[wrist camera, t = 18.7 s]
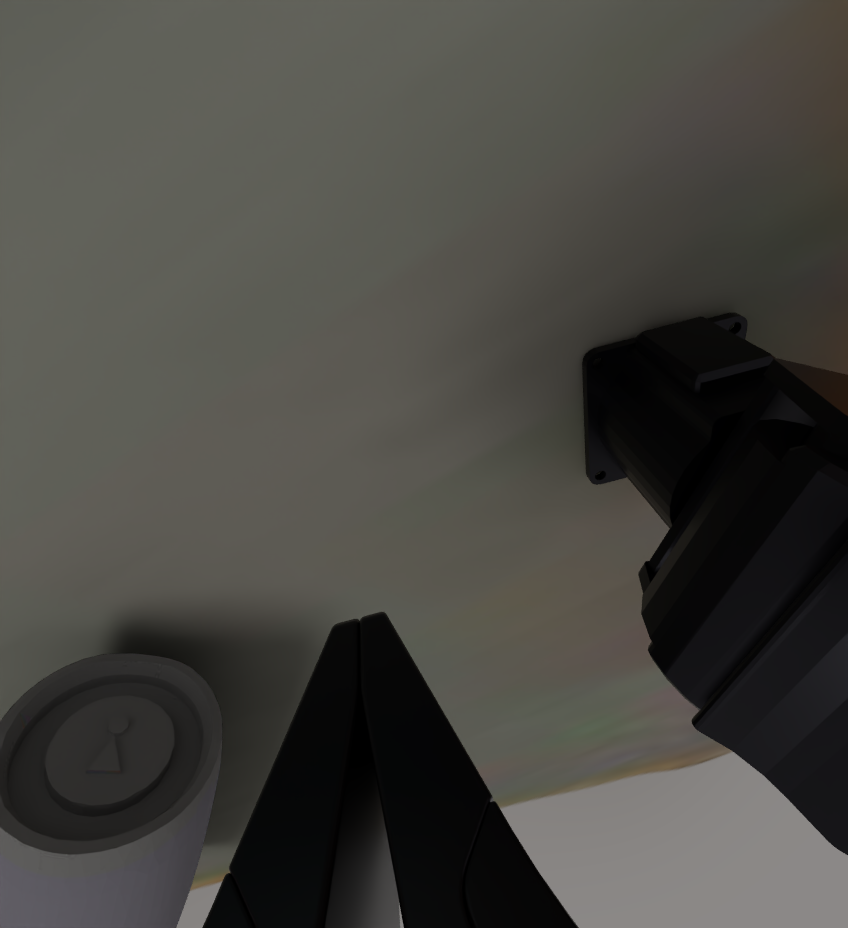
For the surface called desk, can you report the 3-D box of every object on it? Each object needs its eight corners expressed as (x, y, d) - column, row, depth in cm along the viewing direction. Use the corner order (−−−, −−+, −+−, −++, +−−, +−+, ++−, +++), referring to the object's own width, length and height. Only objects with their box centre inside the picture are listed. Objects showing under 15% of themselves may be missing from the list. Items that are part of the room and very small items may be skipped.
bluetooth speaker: (36, 617, 24) (-112, 881, 16) (248, 638, 27) (217, 870, 19) (36, 851, 35) (-51, 1080, 27) (188, 848, 38) (151, 1053, 30)
